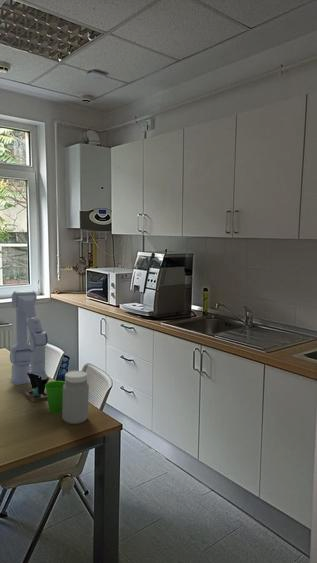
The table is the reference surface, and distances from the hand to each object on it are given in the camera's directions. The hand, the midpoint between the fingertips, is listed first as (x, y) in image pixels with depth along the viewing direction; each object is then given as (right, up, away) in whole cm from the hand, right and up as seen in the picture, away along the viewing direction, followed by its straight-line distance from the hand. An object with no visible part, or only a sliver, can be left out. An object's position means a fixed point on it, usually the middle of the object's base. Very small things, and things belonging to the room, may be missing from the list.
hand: (37, 391), depth 177 cm
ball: (0, -3, 0) cm, 3 cm away
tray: (0, -3, 0) cm, 3 cm away
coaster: (-7, -2, +5) cm, 9 cm away
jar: (+20, -6, -19) cm, 28 cm away
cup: (+11, -5, -12) cm, 17 cm away
